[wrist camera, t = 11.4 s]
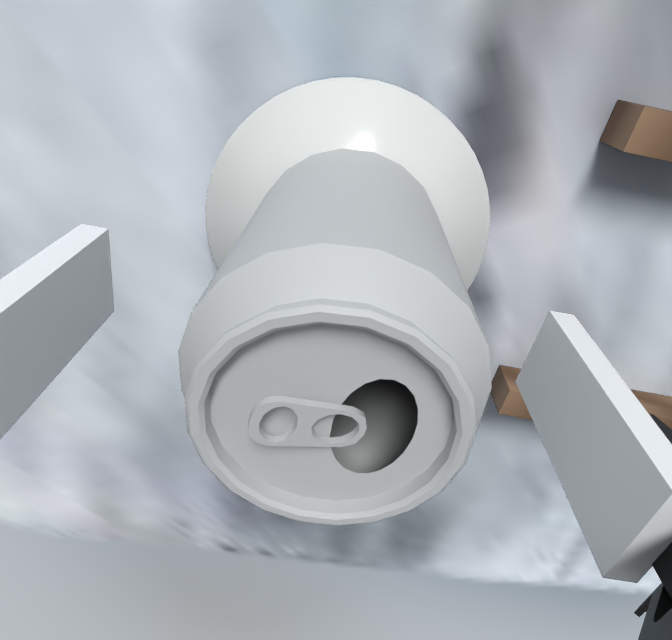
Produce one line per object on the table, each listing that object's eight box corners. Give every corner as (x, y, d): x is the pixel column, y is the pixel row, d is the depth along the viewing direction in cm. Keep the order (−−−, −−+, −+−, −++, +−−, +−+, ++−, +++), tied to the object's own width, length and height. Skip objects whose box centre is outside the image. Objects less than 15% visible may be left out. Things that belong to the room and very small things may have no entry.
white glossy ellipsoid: (205, 318, 24) (200, 327, 23) (218, 46, 18) (212, 46, 17) (439, 362, 24) (441, 371, 24) (530, 111, 18) (536, 114, 18)
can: (402, 329, 23) (433, 575, 12) (246, 288, 22) (140, 513, 12) (465, 173, 19) (584, 341, 8) (278, 119, 18) (163, 230, 8)
